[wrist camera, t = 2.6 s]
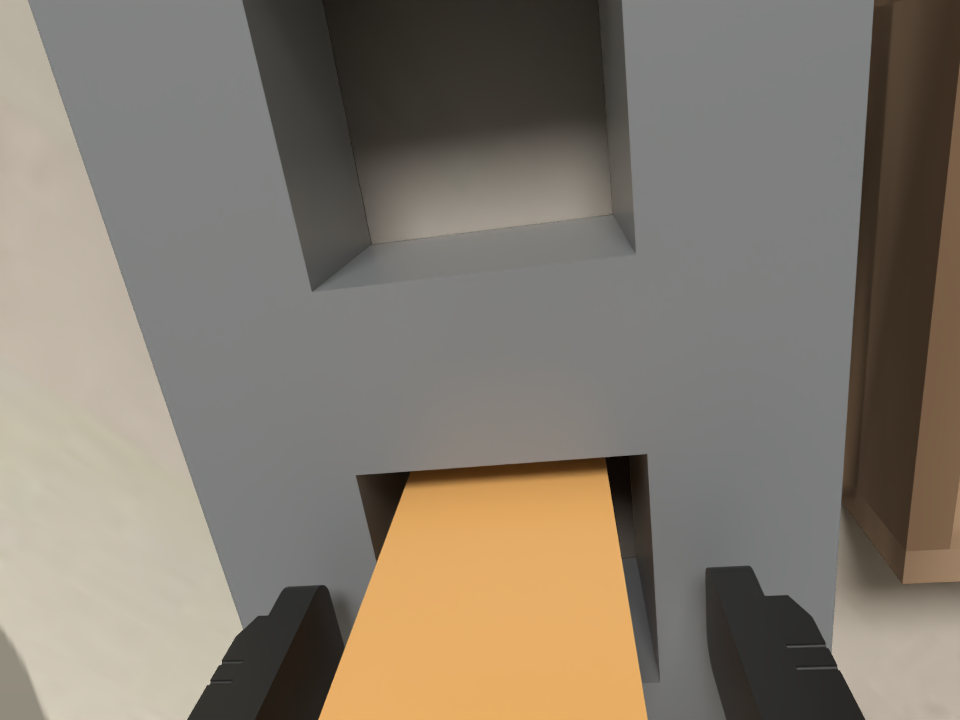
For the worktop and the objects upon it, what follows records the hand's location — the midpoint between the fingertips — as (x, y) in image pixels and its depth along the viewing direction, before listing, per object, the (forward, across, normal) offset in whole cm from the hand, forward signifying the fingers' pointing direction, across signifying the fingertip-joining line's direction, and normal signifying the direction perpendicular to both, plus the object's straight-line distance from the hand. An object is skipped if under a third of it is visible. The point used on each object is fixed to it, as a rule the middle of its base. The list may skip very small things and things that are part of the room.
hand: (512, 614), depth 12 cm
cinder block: (+5, 0, -4) cm, 7 cm away
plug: (+5, 0, 0) cm, 5 cm away
